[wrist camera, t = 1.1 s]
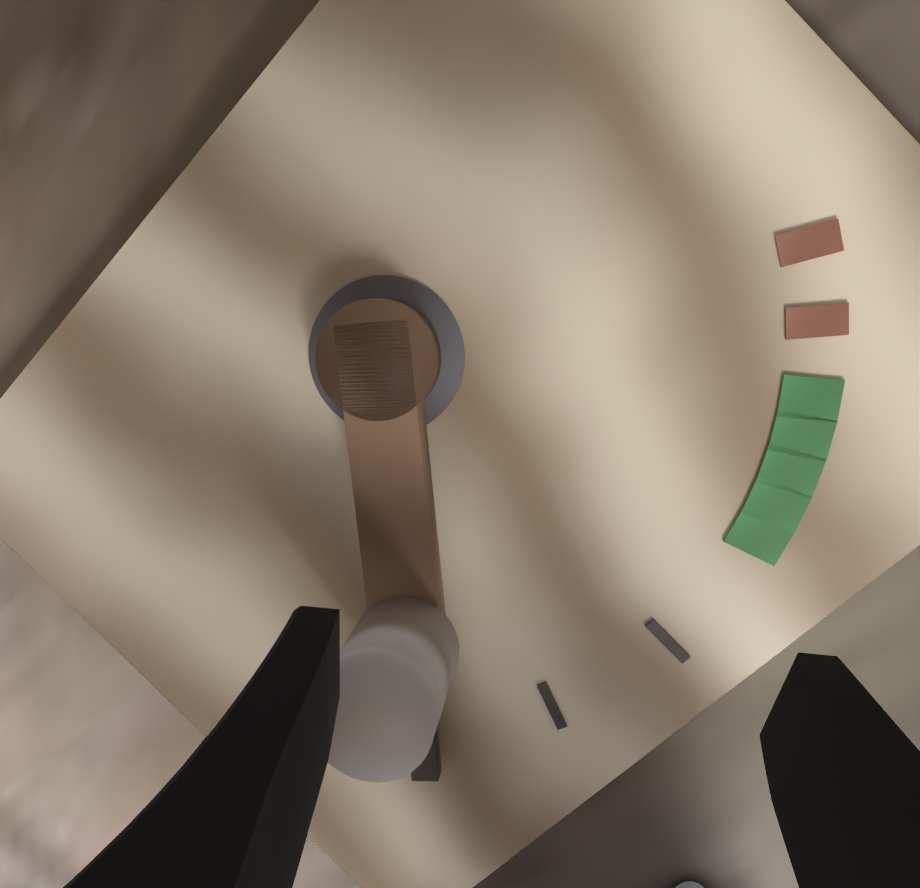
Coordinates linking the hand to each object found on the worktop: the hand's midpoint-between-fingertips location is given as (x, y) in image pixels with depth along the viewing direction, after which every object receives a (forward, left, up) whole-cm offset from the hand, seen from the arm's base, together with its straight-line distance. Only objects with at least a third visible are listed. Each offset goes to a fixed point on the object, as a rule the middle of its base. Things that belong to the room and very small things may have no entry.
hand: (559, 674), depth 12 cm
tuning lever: (-4, +2, -9) cm, 10 cm away
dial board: (-1, +3, -11) cm, 11 cm away
